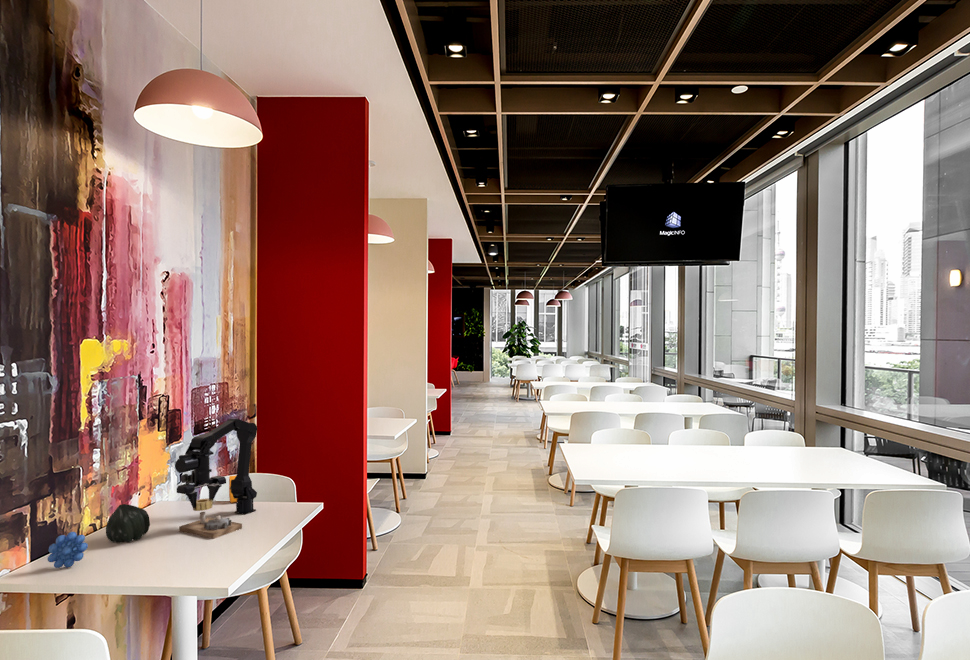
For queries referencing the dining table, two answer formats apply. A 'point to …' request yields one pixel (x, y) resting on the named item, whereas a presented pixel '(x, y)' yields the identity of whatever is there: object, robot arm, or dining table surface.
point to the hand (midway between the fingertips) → (202, 505)
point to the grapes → (67, 550)
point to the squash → (127, 524)
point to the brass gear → (203, 504)
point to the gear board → (209, 533)
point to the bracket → (230, 490)
